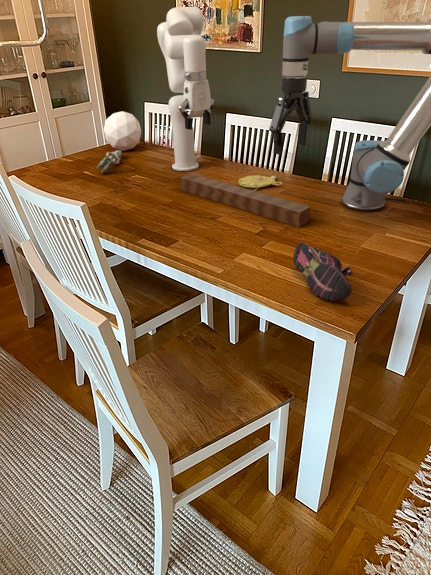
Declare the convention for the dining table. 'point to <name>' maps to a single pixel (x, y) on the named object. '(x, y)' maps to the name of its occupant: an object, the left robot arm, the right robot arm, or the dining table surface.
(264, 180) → the decorative object
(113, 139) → the sphere
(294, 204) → the beam
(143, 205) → the dining table surface
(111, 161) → the figurine
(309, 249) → the athletic shoe
